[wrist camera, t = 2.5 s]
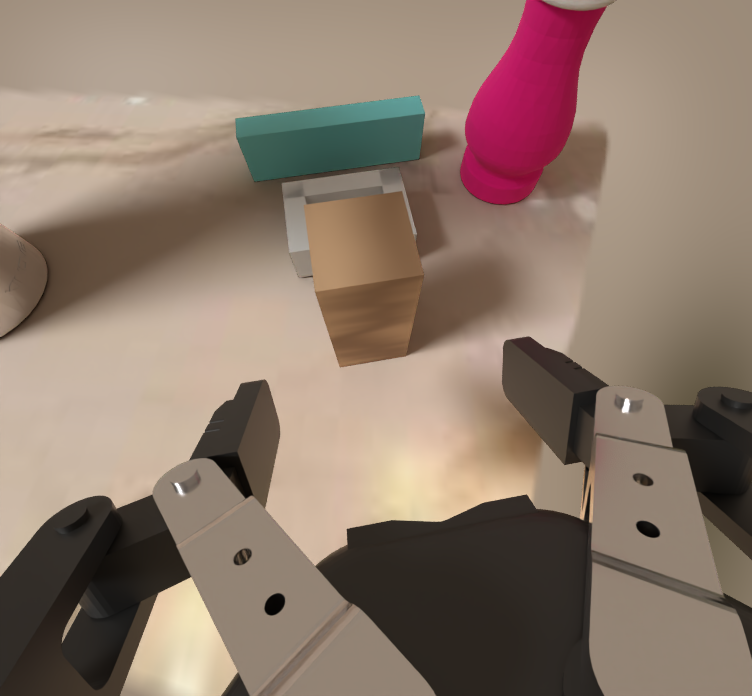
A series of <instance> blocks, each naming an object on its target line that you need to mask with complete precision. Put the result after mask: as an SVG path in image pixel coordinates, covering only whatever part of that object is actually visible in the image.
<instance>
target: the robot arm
mask: <svg viewBox="0 0 752 696" xmlns="http://www.w3.org/2000/svg"><path fill="white" fill-rule="evenodd" d="M46 282H47V266H46V262H45V259H44V257H43V256H42V254H41V253H40V251H39V250H37V249H36V248H35V247H34V246H33V245H31V244H30V243H28V242H27V241H26V240H24V239H23V238H21V237H20V236H18V235H17V234H15V233H14V232H12V231H11V230H9V229H8V228H7V227H5V226H4V225H2V224H1V223H0V337H1V336H3V335H5V334H6V333H7V332H9V331H10V330H12V329H13V328H15V327H16V326H17V325H18V324H19V323H21V322H22V321H23V320H24V319H25V318H26V317H27V316H28V315H29V314H30V312H31V311H32V310H33V309H34V307H35V306H36V305H37V303H38V301H39V300H40V298H41V296H42V294H43V292H44V289H45V285H46ZM502 384H503V389H504V392H505V395H506V397H507V398H508V400H509V401H510V402H511V403H512V404H513V405H514V407H515V408H516V409H517V410H518V411H519V412H520V414H521V415H522V416H523V417H524V418H525V419H526V421H527V422H528V423H529V424H530V425H531V426H532V428H533V429H534V430H535V431H536V432H537V433H538V435H539V436H540V437H541V438H542V439H543V440H544V442H545V443H546V444H547V445H548V446H549V447H550V448H551V449H552V451H553V452H554V453H555V454H556V456H557V457H558V458H559V459H560V460H561V461H562V463H563V464H564V465H567V464H572V463H578V462H583V463H584V464H585V470H584V477H583V488H582V501H581V513H580V519H579V518H577V517H574V516H571V515H568V514H564V513H560V512H556V511H550V510H543V509H536V508H535V506H534V505H533V503H532V502H531V500H530V499H529V497H528V496H527V495H522V496H517V497H511V498H506V499H501V500H496V501H490V502H485V503H482V504H480V505H478V506H476V507H473V508H471V509H469V510H467V511H465V512H463V513H461V514H458V515H456V516H454V517H452V518H450V519H448V520H445V521H442V522H423V521H397V520H391V521H386V522H381V523H375V524H370V525H365V526H360V527H355V528H349V529H347V542H348V545H346V546H344V547H342V548H340V549H338V550H336V551H335V552H333V553H331V554H330V555H328V556H327V557H326V558H324V559H323V560H322V561H320V562H319V563H318V564H317V565H316V566H314V564H313V563H312V562H311V561H310V560H309V559H308V558H307V556H306V555H305V554H304V553H303V552H302V551H301V550H300V548H299V547H298V546H297V545H296V544H295V543H294V542H293V540H292V539H291V538H290V537H289V536H288V535H287V534H286V533H285V531H284V530H283V529H282V528H281V527H280V526H279V525H278V523H277V522H276V521H275V520H274V519H273V518H272V517H271V515H270V514H269V513H268V512H267V511H266V510H265V507H266V502H267V497H268V492H269V487H270V483H271V478H272V473H273V468H274V463H275V458H276V454H277V449H278V444H279V439H280V425H279V420H278V416H277V413H276V409H275V406H274V402H273V399H272V395H271V392H270V389H269V385H268V383H267V381H266V380H259V381H253V382H247V383H242V384H241V385H240V387H239V389H238V391H237V393H236V395H235V397H234V399H233V400H229V401H226V402H225V403H224V404H223V405H221V406H220V407H219V408H218V409H217V410H216V411H215V412H214V414H213V416H212V418H211V420H210V424H208V426H207V428H206V429H205V433H203V435H202V437H201V439H200V441H199V443H198V445H197V447H196V448H195V450H194V452H193V454H192V456H191V458H190V460H189V461H187V462H184V463H182V464H180V465H178V466H176V467H174V468H172V469H171V470H170V471H168V472H167V473H166V474H164V475H163V476H162V477H161V478H160V479H159V481H158V482H157V483H156V485H155V487H154V489H153V495H150V496H148V497H145V498H143V499H140V500H138V501H135V502H133V503H130V504H128V505H125V506H123V507H120V508H118V509H116V507H115V506H114V504H113V502H112V501H111V499H110V498H108V497H106V496H93V497H89V498H85V499H83V500H80V501H78V502H75V503H73V504H71V505H69V506H67V507H66V508H64V509H62V510H61V511H59V512H58V513H56V514H55V515H54V516H52V517H51V518H50V519H49V520H48V521H46V522H45V523H44V524H43V525H42V526H41V527H40V529H39V530H38V531H37V532H36V533H35V535H34V536H33V537H32V538H31V540H30V541H29V542H28V543H27V545H26V546H25V547H24V548H23V550H22V551H21V552H20V553H19V555H18V556H17V557H16V558H15V560H14V561H13V562H12V563H11V565H10V566H9V567H8V568H7V570H6V571H5V572H4V573H3V574H2V576H1V577H0V696H120V694H121V691H122V688H123V686H124V683H125V680H126V678H127V675H128V672H129V670H130V667H131V664H132V662H133V659H134V656H135V654H136V651H137V648H138V646H139V643H140V640H141V638H142V635H143V632H144V629H145V627H146V624H147V621H148V619H149V616H150V613H151V611H152V608H153V605H154V603H155V600H156V597H157V595H158V593H159V592H161V591H163V590H165V589H167V588H170V587H172V586H174V585H176V584H178V583H180V582H182V581H184V580H186V579H188V578H190V577H192V579H193V581H194V583H195V585H196V587H197V589H198V591H199V593H200V595H201V597H202V599H203V601H204V603H205V605H206V607H207V609H208V611H209V613H210V616H211V618H212V620H213V622H214V624H215V626H216V628H217V630H218V632H219V634H220V636H221V638H222V640H223V642H224V644H225V646H226V648H227V650H228V652H229V654H230V656H231V658H232V660H233V662H234V664H235V666H236V668H237V670H238V673H237V674H236V675H235V677H234V678H233V680H232V681H231V683H230V684H229V685H228V687H227V688H226V690H225V691H224V693H223V694H222V695H221V696H752V608H751V607H749V606H747V605H745V604H743V603H741V602H740V601H737V600H736V599H734V598H732V597H730V596H728V595H726V594H724V593H722V589H721V586H720V582H719V578H718V574H717V570H716V566H715V562H714V558H713V555H712V551H711V547H710V544H709V539H708V535H707V531H706V527H705V523H704V519H703V515H704V516H705V517H707V518H708V519H709V520H710V521H711V522H712V523H713V524H714V525H715V526H716V527H717V528H718V529H719V530H720V531H722V532H723V533H724V534H725V535H726V536H727V537H728V538H729V539H730V540H731V541H732V542H733V543H734V544H735V545H736V546H737V547H739V548H740V549H741V550H742V551H743V552H744V553H745V554H746V555H747V556H748V557H749V558H750V559H751V560H752V392H748V391H744V390H740V389H735V388H728V387H708V388H705V389H702V390H700V391H699V393H698V395H697V398H696V401H695V405H694V406H693V405H663V403H662V401H661V400H660V399H659V398H657V397H656V396H655V395H653V394H651V393H649V392H647V391H644V390H641V389H638V388H634V387H629V386H609V385H607V384H606V383H604V382H603V381H601V380H600V379H599V378H597V377H596V376H594V375H593V374H591V373H590V372H588V371H587V370H586V369H582V367H581V366H580V365H578V364H577V363H576V362H573V360H571V359H570V358H568V357H567V356H566V355H564V354H563V353H560V352H557V351H555V350H552V349H549V348H545V347H543V346H542V345H541V344H539V343H538V342H536V341H535V340H534V339H532V338H531V337H522V338H516V339H510V340H506V341H505V342H504V346H503V371H502ZM702 514H703V515H702ZM78 603H79V604H80V605H81V607H82V608H81V609H80V611H79V613H78V615H77V617H76V619H75V620H74V622H73V624H72V626H71V628H70V630H69V631H68V633H67V635H66V637H65V639H64V641H63V642H62V637H63V633H64V630H65V627H66V625H67V623H68V621H69V619H70V617H71V616H72V614H73V612H74V610H75V608H76V607H77V605H78Z"/></svg>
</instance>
